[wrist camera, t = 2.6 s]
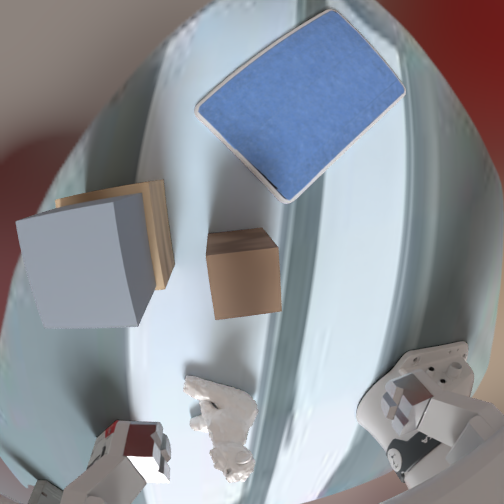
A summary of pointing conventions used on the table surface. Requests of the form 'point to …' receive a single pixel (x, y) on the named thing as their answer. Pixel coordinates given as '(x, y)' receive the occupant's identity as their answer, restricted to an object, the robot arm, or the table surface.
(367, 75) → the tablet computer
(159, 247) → the oak block
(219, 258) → the walnut block
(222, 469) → the seated beast figurine
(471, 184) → the table surface
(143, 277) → the slate block
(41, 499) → the skincare box
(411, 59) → the table surface
